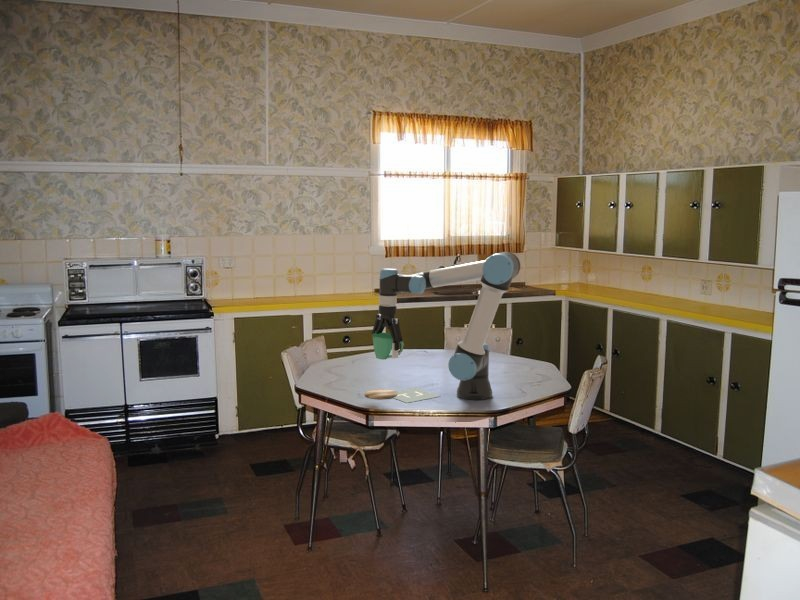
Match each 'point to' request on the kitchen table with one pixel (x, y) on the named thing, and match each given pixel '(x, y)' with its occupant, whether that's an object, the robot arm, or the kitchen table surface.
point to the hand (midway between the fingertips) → (386, 354)
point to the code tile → (414, 395)
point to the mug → (384, 345)
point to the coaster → (381, 394)
